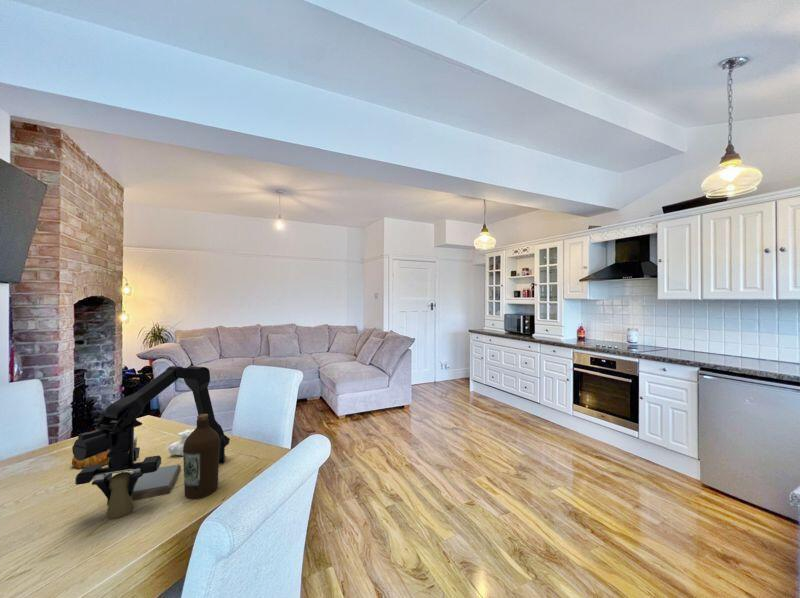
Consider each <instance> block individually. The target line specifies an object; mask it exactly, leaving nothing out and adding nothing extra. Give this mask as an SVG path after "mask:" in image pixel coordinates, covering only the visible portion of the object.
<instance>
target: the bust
mask: <svg viewBox="0 0 800 598" xmlns="http://www.w3.org/2000/svg"><path fill="white" fill-rule="evenodd" d="M195 429H196V428H194V429H189V428H188V429H184V430H183V431H182V432H178V436H180V437H181V440H179V441H175V442H173V443H171V444H170V445H169V446H168V449H167V451H168V453H169V455H171V456H182V457H183V446H184V443H185V440H186V439H187V437H188V436H189V435H190V434H191V433H192V432H193V431H194V430H195Z"/></svg>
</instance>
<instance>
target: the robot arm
mask: <svg viewBox="0 0 800 598" xmlns="http://www.w3.org/2000/svg"><path fill="white" fill-rule="evenodd" d="M178 379H182V380H183V381H184V382H185V384H186V386H187V388H189V389H190V390H191V392H192V395H193V398H194V400H193V401H194V402H195V407H196V411H197V416H198V415H200V414H208V418H209V421H208V425H209V426H210V427H211V428H212V429H213V430H215V431H216V432H217V433H218V434H219V437H220V455H219V465H220V464H224V463H225V461H226V460H225V459H226V447H227V446H228V445H229V444H230V440H231V438H229V436H226V434H225V432H224V430H223V428H222V426H221V425H220V424H219V423H218V421H217V420H216V417H215V414H214V408H213V405H212V400H211V397H210V396H211V395H210V393H209V389H208V388H209V384H210V382H211V372H210V369H209V368H208V367H206V366H196V365H195V366H194V365H190V366H188V367H183V366H177V365H170V366H169V367H167V368H166V369H165V370H164V371H163V372H162V373H160V374H159V375H158V376H156V377H155V378H154V379H152V380H150V381H149V382H148V383H147V384H145V385H144V386H143V387H141V388H140V389H138V390H136V392H134V393H132V394H129V395H127V396H124V397H122V398H120V399H118V400H116V401H114V402H112V403H111V404H110V405H108V406H107V408H105V413H104V414H103V416H102V417H101V418H100V420H99V421H98V422H97V424H96V425H95V427H94V429H95V430H92V431H91V430H90V431H88V432H83V433H79V434H78V435H77V439H76V440H75V441H74V444H73V445H72V447H71V448H72V449H71V451H72V455H73V457H75V458H76V459H77V460H78V461H81V460H84V459H87V458H90V457H92V456H95V455H98V454H100V453H103V452H106V451H107V450H108V449H109V453H108V454H107V458H108V464H107V465H108V466H106V467H103V465H101V464H98V465H91V466H86V467H85V468H82V470H81V471H80V472H79V473H77V474H76V476H75V481H74V482H75V483H74V484H75V486H76V485H79V486H80V485H84V484H89V483H90V482H91V485H92V486H94V485H95V486H96V487H97V488H98V489H99V490H101V492H102V494H104V496H105V497H106V499H108V500H110V494H111V489H112V488H110V486H109V481H110V479H111V478H112V477H113V474H118V473H122V472H133V473H132V475H131V476H130V477H129V492H128V493H129V496H130V497H131V495H132V493H133V490H134V488H135V485H136V483H137V480H138V478H139V477H141V476H142V475H143V474H145V473H151V472H155V471H157V469H158V468H159V467H161V465H162V457H161V456H160V455H151V456H146V457H145V458H144V459H143V461H138V462H136V461H137V460H138V459H139V457H140V452H141V451H140V450H141V447H139V446H137V448H135V443H134V434H135V428H136V427H140V426H142V425H143V423H142V422H141V421H139V420H138V419H137V418H138V416H140V415H141V414H142V413H143V412H144V410H145V408H146V405H148V404H149V402H150V401H152V400H153V399H155V398H156V397H157V396H158V395H160V394H161V393H162V392H163V391H165V390H166V389H167V388H169V387H170V386H171V385H172V384H173V383H175V382H176V381H178ZM114 423H116V424H114ZM134 461H135V462H134ZM92 480H93V481H92Z"/></svg>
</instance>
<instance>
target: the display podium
mask: <svg viewBox="0 0 800 598" xmlns="http://www.w3.org/2000/svg"><path fill="white" fill-rule="evenodd" d="M181 467H182V465H181V464H173V465H166V466H165V465H164V466H159V468H158V469H157V471H155V472H151V473H145V474H143V475H142V476H141V477H139V478H138V480H137V483H136V485H135V488H134V490H133V493H132V501H135V500H140V499H146V498H152V497H157V496H162V495H169V494H170V493H171V491H172V489H173V487H174V485H175V482H176V480H177V478H178V477H179V475H180V473H181V470H182V468H181ZM128 472H129V473H131V475H132V473H133V472H132V471H128ZM106 499H107V498H106ZM106 502H107V504H106V505H107V506H108V505H109V500H108V499H107V501H106Z"/></svg>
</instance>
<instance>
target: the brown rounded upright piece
mask: <svg viewBox="0 0 800 598" xmlns="http://www.w3.org/2000/svg"><path fill="white" fill-rule="evenodd" d="M129 472H130V471H125V472H119V473H115V474H114V475H112V478H111V479H110V481H109V486H110V488H112V489H111V494H110V500H109V505H107V511H106V512H107V513H106V518H108V519H118V518H121V517H124V516H126V515H128V514H129V513H130V512H132V511H133V510H134V504H133V503H134V502H133V500H132V495H131V497H130V496H129V493H128V492H129V477H130V476H131V473H129Z"/></svg>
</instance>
